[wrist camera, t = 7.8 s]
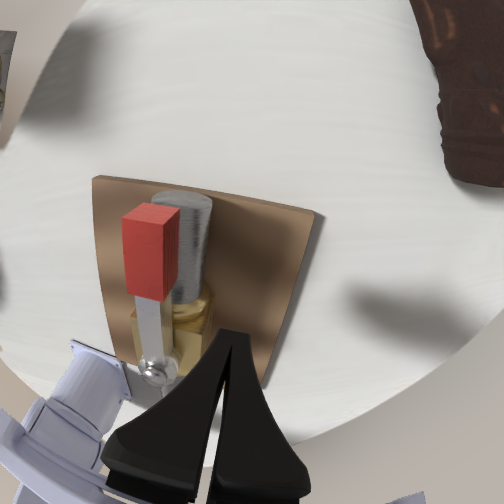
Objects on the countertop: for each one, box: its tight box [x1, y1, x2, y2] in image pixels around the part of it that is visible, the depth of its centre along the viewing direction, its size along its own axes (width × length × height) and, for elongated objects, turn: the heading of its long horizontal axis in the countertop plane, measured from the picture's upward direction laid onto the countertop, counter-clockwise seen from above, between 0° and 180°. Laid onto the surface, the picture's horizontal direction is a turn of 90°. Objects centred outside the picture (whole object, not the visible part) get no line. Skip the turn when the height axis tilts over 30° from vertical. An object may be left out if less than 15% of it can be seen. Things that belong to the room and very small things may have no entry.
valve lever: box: [121, 203, 182, 387], centre depth 14 cm, size 12×3×3 cm, turn 171°
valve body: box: [130, 190, 216, 398], centre depth 20 cm, size 20×5×5 cm, turn 170°
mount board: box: [92, 175, 315, 389], centre depth 22 cm, size 20×16×1 cm
